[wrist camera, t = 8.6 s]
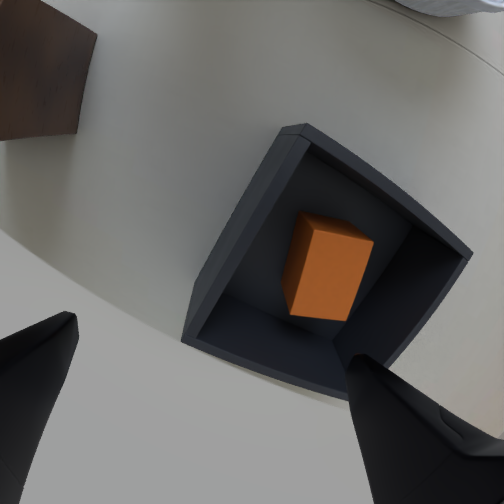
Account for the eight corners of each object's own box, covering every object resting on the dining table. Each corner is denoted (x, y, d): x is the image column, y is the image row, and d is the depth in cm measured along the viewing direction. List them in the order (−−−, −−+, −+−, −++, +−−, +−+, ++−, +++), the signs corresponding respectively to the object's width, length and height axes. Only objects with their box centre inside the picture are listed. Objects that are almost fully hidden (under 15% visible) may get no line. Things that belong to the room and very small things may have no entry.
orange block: (328, 290, 21) (346, 321, 17) (280, 282, 21) (289, 315, 17) (350, 221, 19) (374, 241, 16) (298, 210, 19) (313, 229, 15)
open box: (330, 343, 24) (355, 403, 17) (194, 283, 21) (180, 342, 15) (418, 219, 20) (474, 253, 14) (282, 126, 18) (306, 122, 12)
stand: (76, 133, 17) (-30, 146, 8) (4, 132, 16) (-95, 149, 7) (97, 34, 14) (9, -17, 5) (21, 43, 14) (-71, 21, 4)
